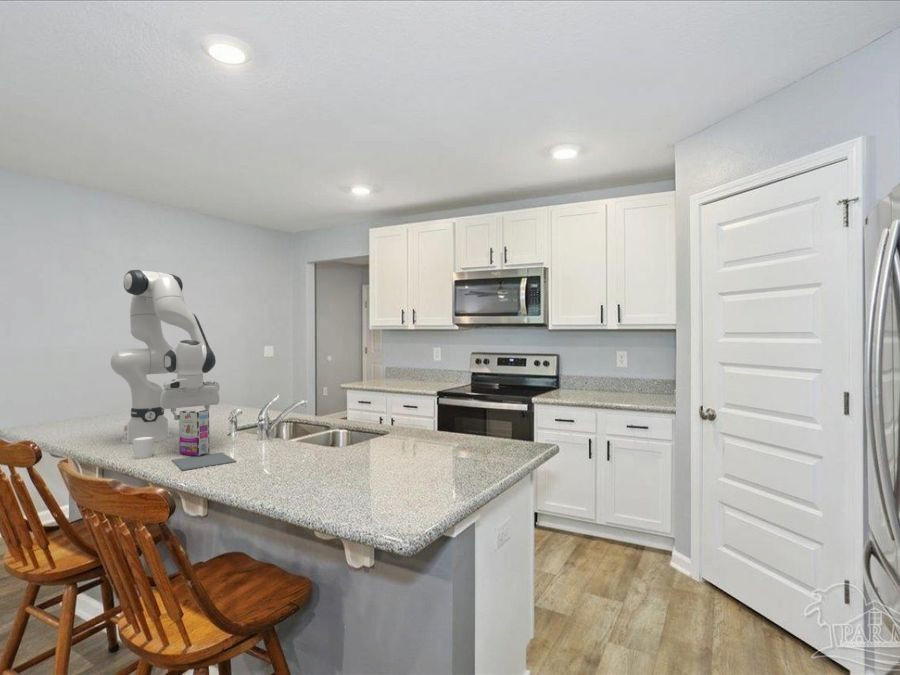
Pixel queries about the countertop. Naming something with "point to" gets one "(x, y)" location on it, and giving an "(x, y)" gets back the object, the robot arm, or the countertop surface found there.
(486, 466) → the countertop surface
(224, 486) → the countertop surface
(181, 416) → the candy bar box
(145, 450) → the white cylinder
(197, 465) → the mat
